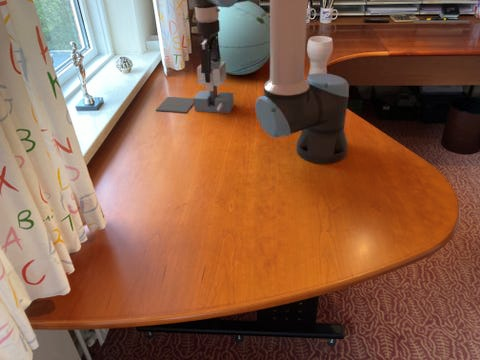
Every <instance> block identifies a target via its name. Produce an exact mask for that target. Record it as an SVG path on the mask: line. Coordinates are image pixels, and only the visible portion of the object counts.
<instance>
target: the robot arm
mask: <svg viewBox="0 0 480 360" xmlns="http://www.w3.org/2000/svg"><path fill="white" fill-rule="evenodd" d="M245 1H250V2H252V0H194V12H195V19H196V20H197V21H196V23H195V24H196V31H197V33H198V34H201V35H202V40H201V42H199V50H200V64H201V73H204V79H205V85H204V87H205V88H204V89H205V91H213V90H214V89H213V77H212V72H211V60H212V61H221V60H220V59H221V57H220V49H219V41H218V32H219V31H220V25H219V20H218V18H219V13H218V12H220V9H218V7H219V6H220V7H231V6H233V5H234V4H235V3H240V2H245ZM308 1H309V0H269V18H270V57H269V79H268V80H267V81H266V82H265V83H264V87H263V93H264V94H263V95H260V96H258V98H257V99H256V101H255V105H254V107H255V114H256V119H257V120H258V123H259V124H260V126H261V128H262V129H263V130H264V132H265V133H266V134H267V135H268V136H270V137H273V138H277V139H278V138H281V137H285V136H286V137H289V136H290V135H292V134H295V133H297V132H300V131H301V132H300V134H299V136H298V139H297V141H296V153H297V155H298V156H299V157H300V158H302V159H304V160H305V161H308V162H310V163H315V164H322V165H323V164H333V163H337V162H340V161H342V160H343V159H344V158H346V156H348V155H347V154H348V147H349V144H348V141H347V137H346V132H345V124H346V116H347V109H348V103H349V102H348V101H349V97H350V95H349V93H350V92H349V91H350V90H349V89H350V85H349V83H348V80H346V79H345V78H344V77H341V76H338V75H335V74H331V73H327V74H325V73H315V74H310V75H309V74H308V76H307V77H306V79H305V62H306V61H305V60H306V45H307V44H306V41H307V19H308Z"/></svg>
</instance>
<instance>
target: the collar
mask: <svg viewBox="0 0 480 360" xmlns="http://www.w3.org/2000/svg"><path fill="white" fill-rule="evenodd" d="M196 72H197V73H196V74H197V83H198V85H199V86H205V79H204V73H201V63H200V64H199V65H198V66H197V67H196ZM211 72H212V77H213V86H217V87H221V86H222V84H224V82H225V80H226V79H227V72H226V63H225V61H211Z"/></svg>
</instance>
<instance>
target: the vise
mask: <svg viewBox="0 0 480 360" xmlns="http://www.w3.org/2000/svg"><path fill="white" fill-rule="evenodd" d="M213 89H214V90H213V91H206V90H199V91H198V92H197V93H196V94H195V95H194V96H193V97H192V98H193V99H194V104H193V106H194V112H201V113H202V112H204V113H216V114H217V113H219V114H230V113H231V111H232V110H233V108H234V106H235V102H234V101H235V100H234V99H235V98H234V96H235V95H234V92H226V91H225V92H224V91H219V93H218V86H213Z"/></svg>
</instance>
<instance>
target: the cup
mask: <svg viewBox="0 0 480 360" xmlns="http://www.w3.org/2000/svg"><path fill="white" fill-rule="evenodd" d="M306 51H307V57H308V59H309V65H310V66H309V71H308V76H309V75H310V74H315V73H325V74H328V70H327V69H328V68H327V65H328V61H329V59H331V58H330V57H331V55H332V53H333V51H334V41H333V38H332V37H329V36H326V35H325V36H324V35H315V36H311V37H309V38H308V41H307V44H306Z"/></svg>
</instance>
